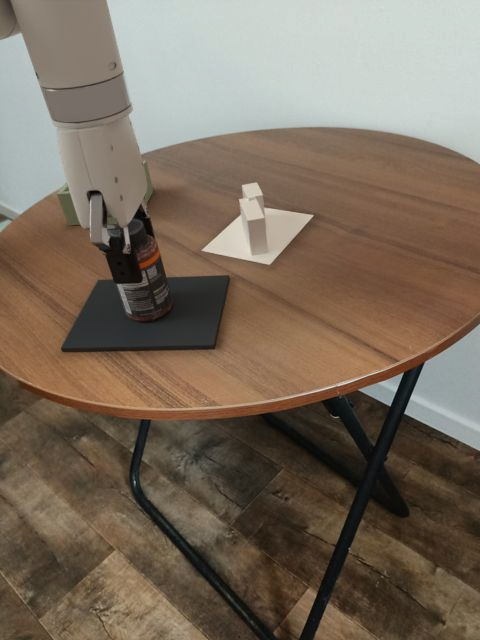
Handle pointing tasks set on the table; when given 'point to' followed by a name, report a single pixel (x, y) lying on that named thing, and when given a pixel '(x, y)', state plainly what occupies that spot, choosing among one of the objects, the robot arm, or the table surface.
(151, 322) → the mat
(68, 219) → the bin
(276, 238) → the napkin holder
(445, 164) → the table surface
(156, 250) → the supplement bottle
